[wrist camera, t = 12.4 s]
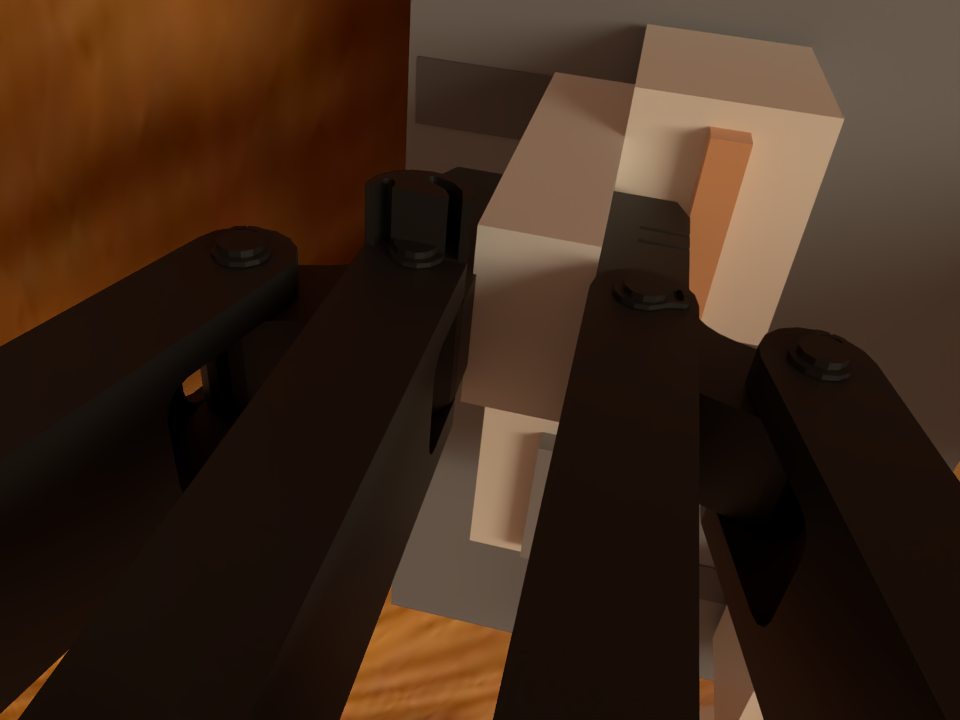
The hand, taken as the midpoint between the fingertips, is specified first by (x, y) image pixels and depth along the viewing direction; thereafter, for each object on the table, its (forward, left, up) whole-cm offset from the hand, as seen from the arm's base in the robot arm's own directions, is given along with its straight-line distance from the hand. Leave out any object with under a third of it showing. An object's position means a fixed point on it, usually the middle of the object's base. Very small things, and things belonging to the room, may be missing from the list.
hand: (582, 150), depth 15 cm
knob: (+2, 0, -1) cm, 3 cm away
